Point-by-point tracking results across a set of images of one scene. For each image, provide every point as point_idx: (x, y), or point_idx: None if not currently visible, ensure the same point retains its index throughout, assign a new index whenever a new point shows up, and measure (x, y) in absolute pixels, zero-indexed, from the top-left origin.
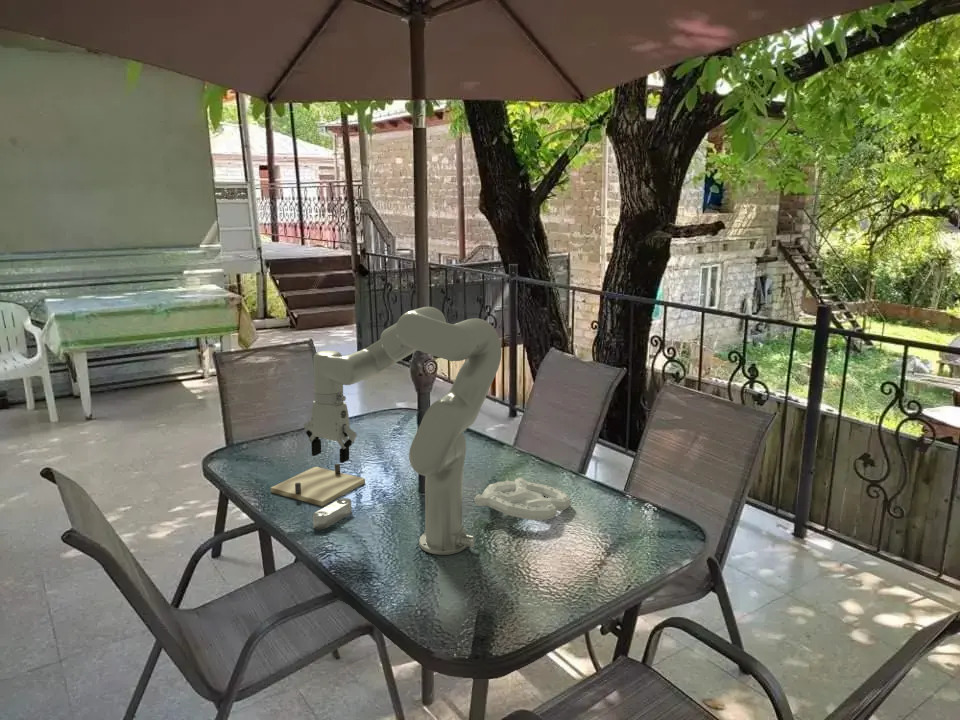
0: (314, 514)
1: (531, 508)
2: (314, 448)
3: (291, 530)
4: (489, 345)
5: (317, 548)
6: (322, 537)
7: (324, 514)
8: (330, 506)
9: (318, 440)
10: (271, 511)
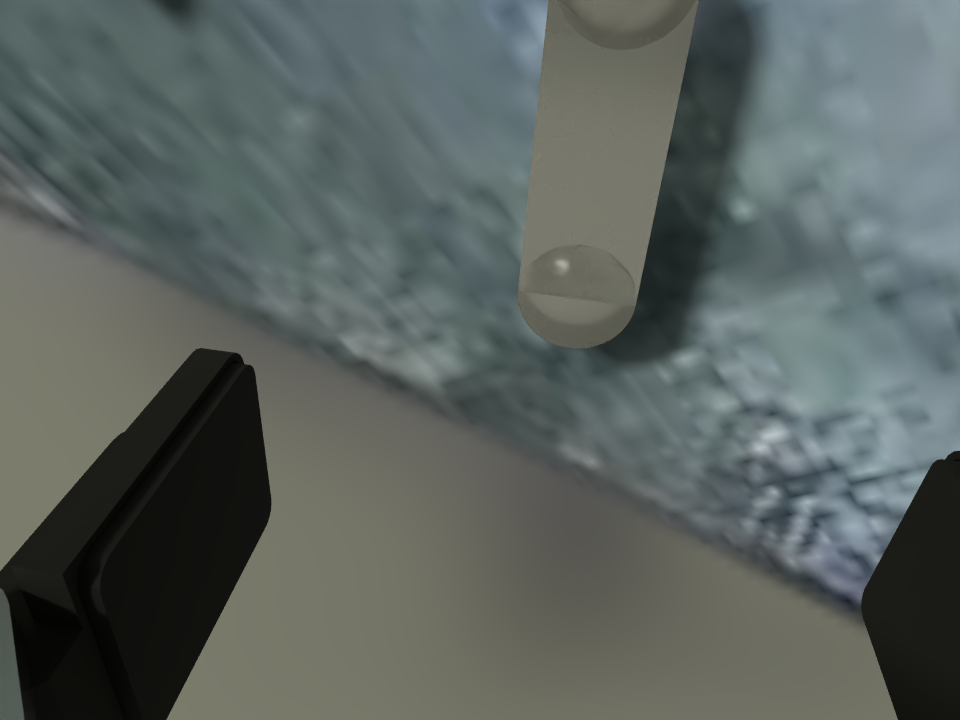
0: (534, 314)
1: None
2: (210, 612)
3: (442, 363)
4: None
5: (718, 480)
6: (678, 375)
7: (607, 289)
8: (568, 141)
9: (92, 632)
10: (126, 194)
